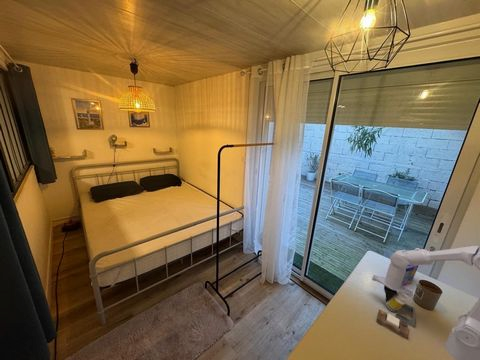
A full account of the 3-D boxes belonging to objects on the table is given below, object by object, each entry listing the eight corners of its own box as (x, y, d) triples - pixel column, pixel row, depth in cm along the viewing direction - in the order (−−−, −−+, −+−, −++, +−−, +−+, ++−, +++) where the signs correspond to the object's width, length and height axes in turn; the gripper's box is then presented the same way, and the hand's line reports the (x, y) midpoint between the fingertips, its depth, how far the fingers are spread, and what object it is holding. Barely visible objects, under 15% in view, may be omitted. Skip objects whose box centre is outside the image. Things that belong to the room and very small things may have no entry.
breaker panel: (406, 327, 81) (408, 323, 81) (406, 339, 77) (408, 334, 76) (378, 312, 87) (379, 308, 87) (376, 322, 83) (377, 317, 82)
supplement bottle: (398, 313, 88) (410, 303, 84) (387, 309, 88) (399, 298, 84) (393, 303, 92) (405, 293, 88) (383, 299, 92) (394, 288, 89)
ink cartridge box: (400, 288, 102) (407, 264, 98) (389, 280, 107) (396, 257, 103) (412, 284, 105) (420, 261, 101) (401, 276, 110) (408, 254, 106)
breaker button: (397, 323, 82) (399, 319, 82) (397, 331, 79) (399, 326, 79) (386, 317, 85) (387, 313, 84) (385, 324, 82) (386, 319, 81)
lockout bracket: (413, 312, 89) (414, 307, 88) (413, 327, 82) (415, 322, 81) (396, 304, 92) (397, 299, 92) (395, 317, 86) (396, 313, 85)
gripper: (416, 279, 85) (406, 303, 89) (376, 263, 94) (369, 286, 98) (416, 289, 80) (406, 314, 84) (374, 271, 89) (367, 294, 93)
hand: (386, 299), depth 91 cm, fingers closed, pressing on supplement bottle
